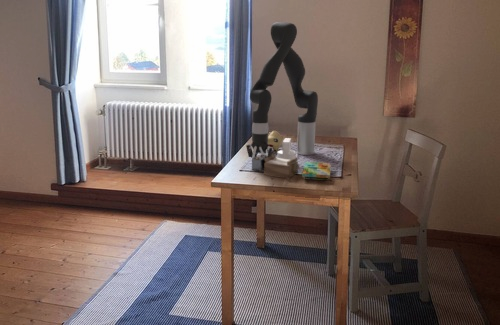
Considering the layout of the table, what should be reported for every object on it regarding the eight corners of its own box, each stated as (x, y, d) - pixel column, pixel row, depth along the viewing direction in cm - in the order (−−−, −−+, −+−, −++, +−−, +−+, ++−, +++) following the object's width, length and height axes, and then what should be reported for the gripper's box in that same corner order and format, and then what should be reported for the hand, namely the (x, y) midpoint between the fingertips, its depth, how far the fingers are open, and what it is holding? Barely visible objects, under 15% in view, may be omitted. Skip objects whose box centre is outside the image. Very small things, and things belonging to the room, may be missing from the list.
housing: (259, 165, 233) (259, 153, 232) (267, 166, 231) (267, 154, 230) (251, 169, 226) (251, 157, 225) (260, 170, 224) (260, 158, 223)
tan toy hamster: (261, 152, 259) (261, 132, 256) (267, 147, 270) (267, 128, 267) (278, 153, 256) (279, 134, 253) (284, 148, 267) (284, 129, 264)
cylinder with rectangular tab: (294, 166, 231) (295, 142, 228) (275, 165, 233) (276, 141, 230) (296, 162, 240) (297, 138, 236) (278, 161, 241) (279, 137, 238)
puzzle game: (330, 161, 224) (330, 173, 205) (330, 171, 225) (329, 183, 206) (305, 160, 226) (302, 171, 207) (305, 169, 227) (302, 182, 208)
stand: (273, 169, 226) (274, 153, 224) (297, 172, 221) (297, 157, 219) (264, 174, 218) (264, 158, 216) (288, 178, 212) (288, 162, 210)
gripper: (277, 131, 224) (276, 167, 229) (250, 128, 231) (250, 163, 235) (270, 134, 218) (269, 170, 222) (242, 131, 224) (242, 166, 229)
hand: (259, 166), depth 229 cm, fingers closed on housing, 4 cm apart
